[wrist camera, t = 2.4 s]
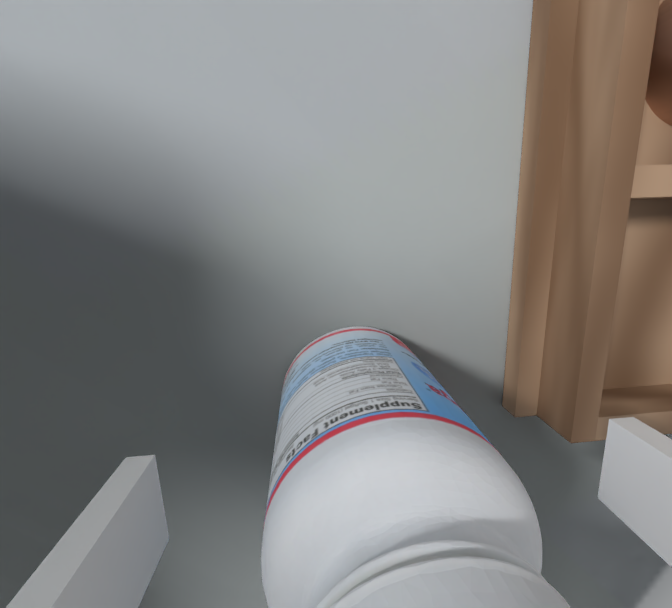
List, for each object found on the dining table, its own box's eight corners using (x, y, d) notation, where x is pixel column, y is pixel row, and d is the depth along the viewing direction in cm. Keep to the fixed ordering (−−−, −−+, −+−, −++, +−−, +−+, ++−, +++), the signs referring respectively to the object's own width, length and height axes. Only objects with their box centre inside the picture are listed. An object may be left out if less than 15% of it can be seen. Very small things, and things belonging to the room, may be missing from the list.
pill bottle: (430, 427, 16) (702, 856, 5) (303, 463, 16) (304, 987, 5) (404, 304, 15) (703, 537, 4) (264, 342, 14) (143, 708, 4)
